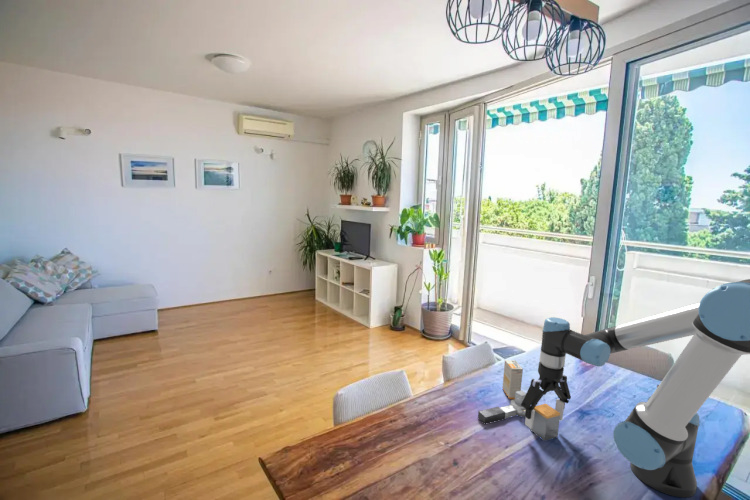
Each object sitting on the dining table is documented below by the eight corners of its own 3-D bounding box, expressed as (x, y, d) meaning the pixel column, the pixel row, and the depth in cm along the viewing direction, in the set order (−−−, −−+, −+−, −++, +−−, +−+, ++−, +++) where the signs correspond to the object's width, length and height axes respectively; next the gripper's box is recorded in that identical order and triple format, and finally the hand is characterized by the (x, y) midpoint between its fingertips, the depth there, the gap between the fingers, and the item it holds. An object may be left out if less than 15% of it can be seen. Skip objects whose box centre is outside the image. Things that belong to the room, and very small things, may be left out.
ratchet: (520, 404, 141) (521, 386, 140) (534, 414, 135) (536, 396, 134) (475, 415, 133) (476, 396, 132) (487, 427, 127) (489, 407, 126)
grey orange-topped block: (557, 437, 123) (560, 413, 121) (544, 441, 120) (547, 416, 119) (543, 426, 128) (545, 403, 127) (530, 430, 126) (532, 406, 124)
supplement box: (520, 399, 145) (523, 369, 143) (508, 399, 145) (511, 368, 143) (513, 389, 153) (516, 359, 151) (501, 388, 153) (504, 359, 151)
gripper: (568, 354, 129) (560, 409, 132) (514, 364, 119) (507, 423, 123) (587, 363, 122) (579, 421, 125) (531, 375, 112) (524, 437, 116)
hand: (543, 422), depth 124 cm, fingers open, 13 cm apart
